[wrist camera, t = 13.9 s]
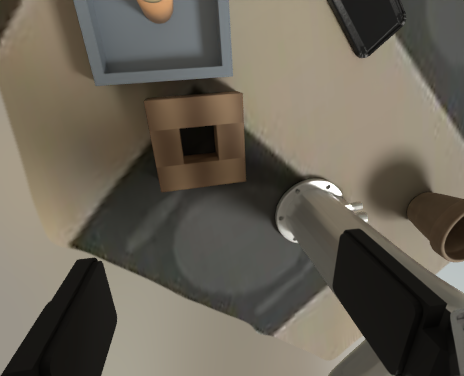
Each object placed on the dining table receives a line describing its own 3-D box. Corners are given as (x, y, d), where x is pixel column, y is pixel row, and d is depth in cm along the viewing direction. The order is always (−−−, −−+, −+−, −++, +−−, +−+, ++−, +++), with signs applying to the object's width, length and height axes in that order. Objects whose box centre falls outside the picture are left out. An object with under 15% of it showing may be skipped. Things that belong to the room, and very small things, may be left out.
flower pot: (458, 191, 51) (518, 217, 42) (421, 237, 55) (469, 270, 46) (421, 170, 48) (478, 193, 39) (383, 220, 51) (428, 252, 42)
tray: (218, -83, 28) (223, -103, 25) (228, 76, 35) (232, 76, 32) (61, -86, 26) (45, -107, 23) (103, 84, 33) (95, 86, 30)
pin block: (236, 91, 36) (242, 93, 32) (240, 171, 41) (246, 181, 37) (147, 98, 34) (143, 101, 31) (163, 181, 39) (161, 192, 36)
